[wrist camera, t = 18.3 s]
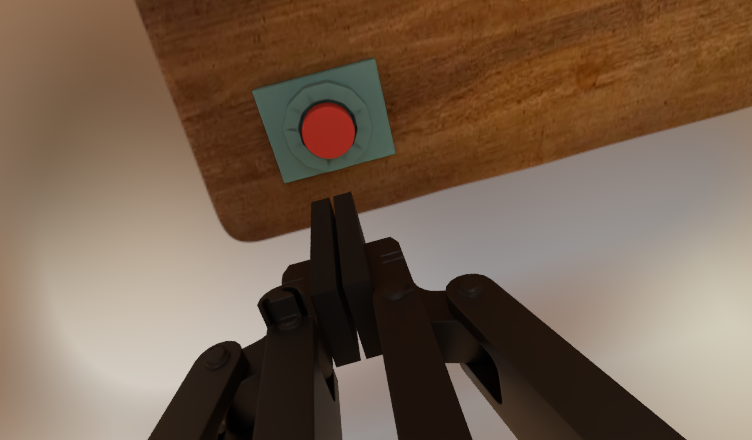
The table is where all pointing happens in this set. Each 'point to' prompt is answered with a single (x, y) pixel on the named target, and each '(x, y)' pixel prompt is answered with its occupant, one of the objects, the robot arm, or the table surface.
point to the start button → (328, 130)
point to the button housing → (297, 96)
